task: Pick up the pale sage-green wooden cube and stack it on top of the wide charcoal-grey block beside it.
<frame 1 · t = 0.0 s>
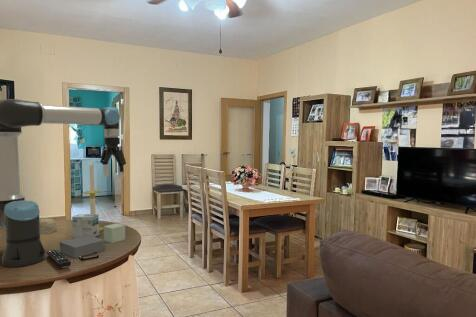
hand: (113, 177, 186), 28 cm above the table, tool pointing down, fingers open, 13 cm apart
light bulb box: (86, 236, 175), on the table
candle: (93, 229, 188), on the table
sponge: (46, 232, 184), on the table
green cube: (114, 240, 168), on the table
base block: (82, 252, 152), on the table
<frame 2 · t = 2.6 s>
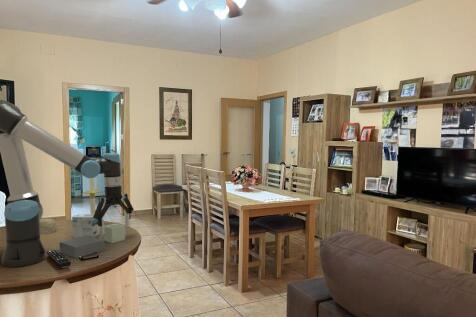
hand: (115, 229, 168), 5 cm above the table, tool pointing down, fingers open, 13 cm apart
nothing on the table moved.
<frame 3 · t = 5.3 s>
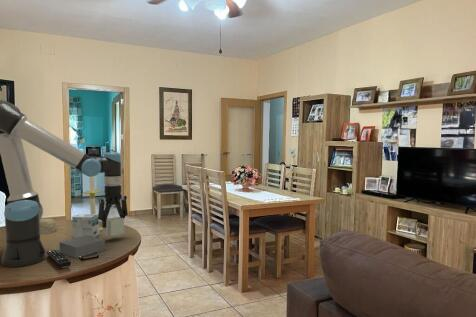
hand: (113, 232, 168), 4 cm above the table, tool pointing down, fingers closed on green cube, 7 cm apart
green cube: (113, 233, 168), point 3 cm above the table, touching gripper
everything else where it was.
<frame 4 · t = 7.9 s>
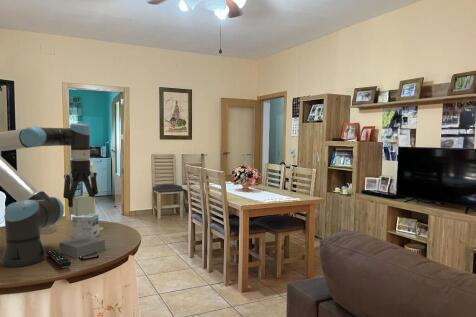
hand: (81, 212, 152), 17 cm above the table, tool pointing down, fingers closed on green cube, 7 cm apart
green cube: (81, 213, 152), point 16 cm above the table, touching gripper
everything else where it was.
when the fingers open (6 cm above the table, at t = 10.9 s): green cube stays where it is, resting on base block.
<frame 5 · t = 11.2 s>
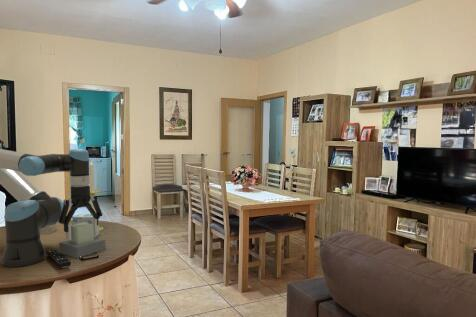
hand: (82, 236, 151), 7 cm above the table, tool pointing down, fingers open, 11 cm apart
green cube: (81, 241, 152), point 5 cm above the table, touching base block
base block: (82, 252, 152), on the table, touching green cube
everything else where it was.
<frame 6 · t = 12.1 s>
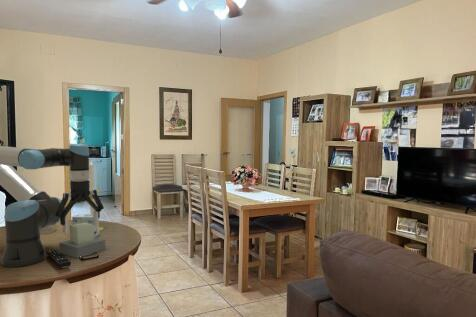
hand: (81, 229, 151), 10 cm above the table, tool pointing down, fingers open, 13 cm apart
nothing on the table moved.
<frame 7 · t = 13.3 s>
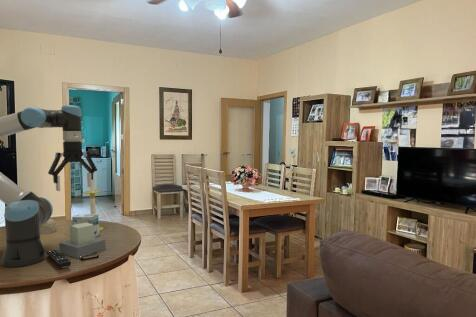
hand: (74, 188, 156), 26 cm above the table, tool pointing down, fingers open, 13 cm apart
green cube: (82, 241, 152), point 5 cm above the table
base block: (82, 252, 152), on the table
everything else where it was.
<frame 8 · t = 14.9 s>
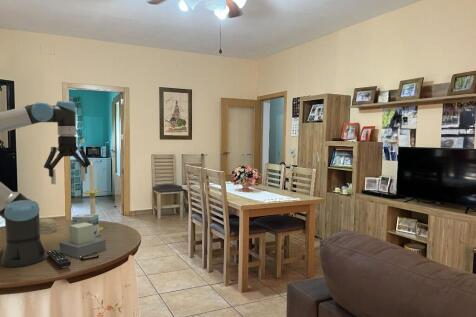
hand: (68, 182, 160), 29 cm above the table, tool pointing down, fingers open, 13 cm apart
green cube: (82, 241, 151), point 5 cm above the table, touching base block
base block: (83, 252, 152), on the table, touching green cube
everything else where it was.
at the end: green cube inside the target area on the base block (0.4 cm from its centre), point 5.0 cm above the base block's base; green cube tilted 0°; the gripper is holding nothing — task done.
